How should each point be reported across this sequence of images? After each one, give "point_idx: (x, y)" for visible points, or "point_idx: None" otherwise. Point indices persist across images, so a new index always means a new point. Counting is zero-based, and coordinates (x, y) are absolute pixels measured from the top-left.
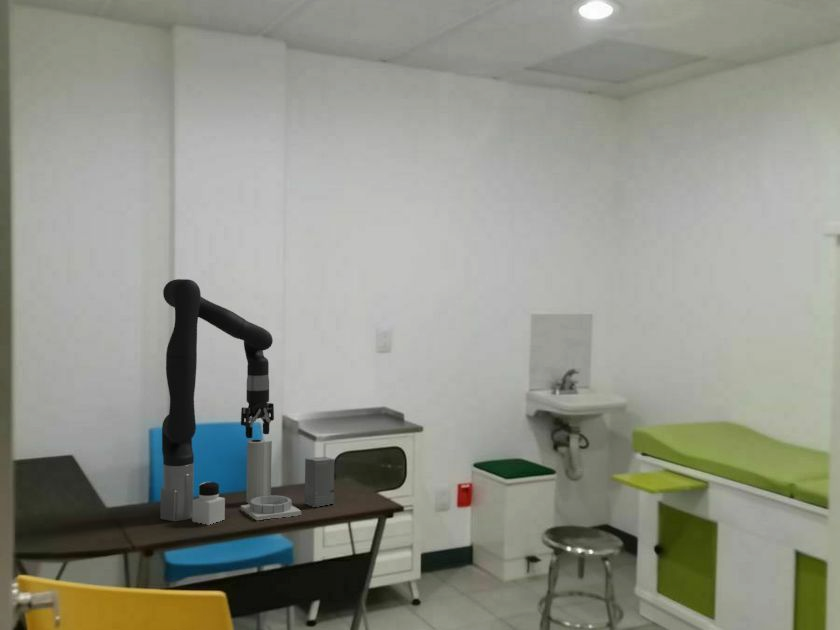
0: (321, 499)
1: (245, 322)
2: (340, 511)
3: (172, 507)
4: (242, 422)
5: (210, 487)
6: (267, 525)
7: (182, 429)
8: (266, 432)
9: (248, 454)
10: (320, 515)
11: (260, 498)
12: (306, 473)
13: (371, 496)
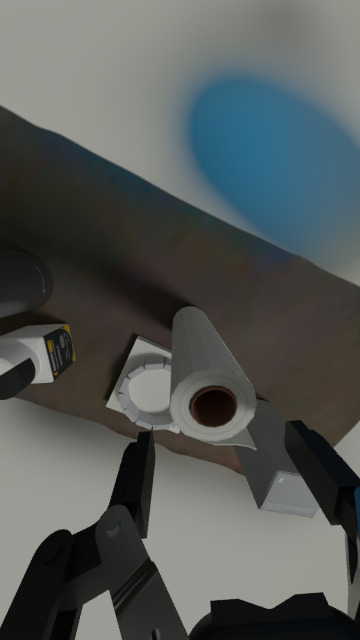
0: None
1: None
2: (231, 452)
3: None
4: (36, 585)
5: None
6: (106, 424)
7: None
8: (290, 449)
9: (171, 368)
10: (196, 445)
11: (163, 367)
12: (254, 443)
13: (334, 436)
